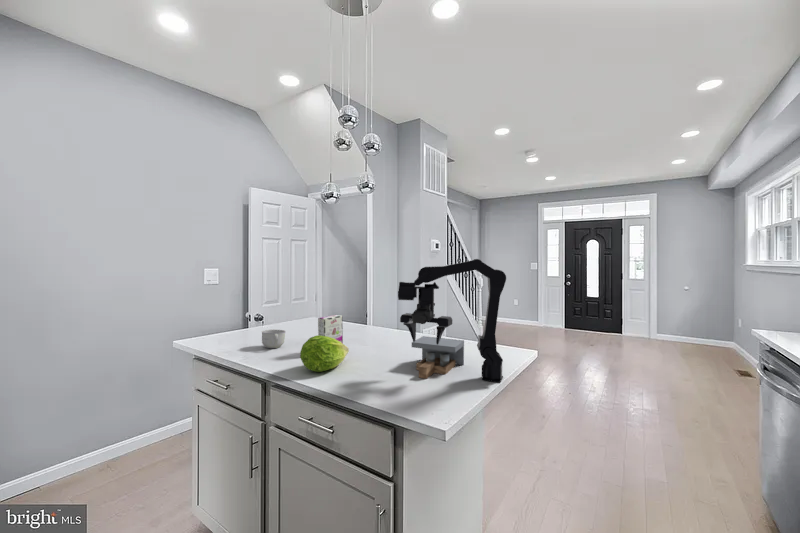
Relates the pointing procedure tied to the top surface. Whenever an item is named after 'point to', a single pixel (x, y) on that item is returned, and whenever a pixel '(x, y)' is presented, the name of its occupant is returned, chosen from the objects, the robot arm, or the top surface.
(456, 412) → the top surface
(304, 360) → the lettuce
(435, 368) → the walnut tray
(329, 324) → the candy bar box
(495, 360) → the robot arm
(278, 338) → the teacup
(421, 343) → the grey piece
